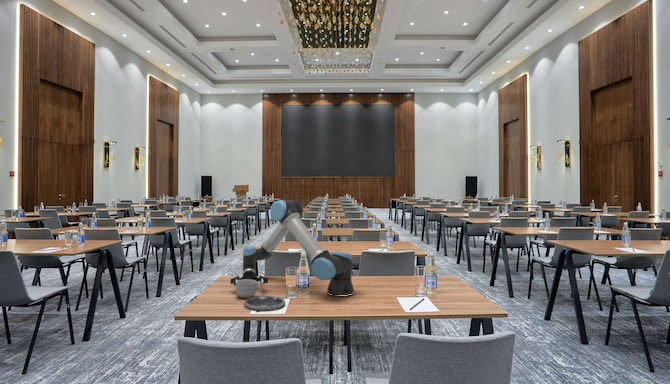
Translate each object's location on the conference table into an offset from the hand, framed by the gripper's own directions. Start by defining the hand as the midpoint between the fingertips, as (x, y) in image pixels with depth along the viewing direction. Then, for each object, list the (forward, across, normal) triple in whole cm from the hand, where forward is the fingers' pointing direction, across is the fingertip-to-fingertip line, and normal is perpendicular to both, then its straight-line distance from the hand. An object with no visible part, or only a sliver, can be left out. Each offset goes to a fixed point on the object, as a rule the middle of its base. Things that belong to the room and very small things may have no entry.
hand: (249, 284), depth 222 cm
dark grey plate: (+18, -7, -6) cm, 21 cm away
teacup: (+2, 0, -6) cm, 6 cm away
